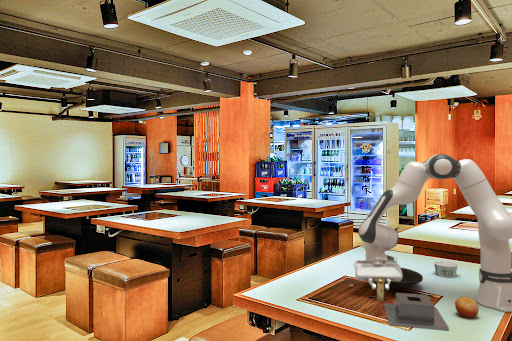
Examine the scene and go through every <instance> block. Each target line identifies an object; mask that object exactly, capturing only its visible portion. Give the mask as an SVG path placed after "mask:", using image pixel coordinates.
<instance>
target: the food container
mask: <svg viewBox="0 0 512 341" xmlns="http://www.w3.org/2000/svg"><path fill="white" fill-rule="evenodd" d="M432 263H433V264H434V269H435V270H434V271H435V275H436V276H437V277H440V278H445V279H454V278H456V276H457V270H458V267H459V263H457V262H454V261H448V260H434V261H433V262H432Z"/></svg>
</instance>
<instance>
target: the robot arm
mask: <svg viewBox="0 0 512 341" xmlns="http://www.w3.org/2000/svg"><path fill="white" fill-rule="evenodd" d="M429 179H435V180H446V179H452V180H453V181H454V182H455V184H456V185H457V186H458V189H459V191H460V192H461V194H462V196H463V198H464V200H465V201H466V203H467V205H468V207H469V208H470V209H471V210H472V212H473V213H474V215H475V217H476V218H477V228H478V229H477V230H478V240H479V247H480V268H479V270H478V280H479V286H478V292H477V295H476V298H475V302H476V303H477V304H480V305H482V306H485V307H487V308H491V309H495V310H498V311H501V312H506V313H507V312H509V313H510V312H511V313H512V251H511V247H510V241H509V240H511V239H512V216H511V213H509V211H508V209H507V208H506V207H505V206H504V204H503V203H502V202H501V200H500V199H499V197H498V196H497V194H496V193H495V191H494V189H493V187H492V185H491V184H490V182H489V180H488V179H487V177H486V176H485V174H484V172H483V171H482V169H481V168H480V167H479V165H478V164H476V162H475V161H474V160H472V159H469V158H463V159H461V160H457V159H455V158H453V157H452V156H450V155H447V154H443V153H442V154H441V153H439V154H433V155H432V156H430V157H429V158H427V159H426V160H425V161H423V162H420V161H409V162H408V163H407V164H406V165H405V167H403V169H402V171H401V172H400V174H399V176H398V179H397V181H396V182H395V183H394V185H393V186H391V188H390V189H387V190H385V191H384V192H383V193H382V194H381V196H380V197H379V198H378V200H377V202H376V203H375V205H374V206H373V208H372V209H371V211H370V213H369V214H368V215H367V217H366V218H364V220H363V222H361V223H360V226H359V227H358V233H357V234H358V236H359V238H360V240H361V241H362V242H363V248H364V250H365V260H359V259H358V260H356V261H354V262H353V268H354V269H355V275H354V276H355V279H356V280H357V281H367V282H368V284H369V285H370V286H371V289H372V290H377V283H374V282H373V281H375V282H376V278H384V279H385V281H386V282H387V283H388V284H387V285H386V284H385V285H384V291H385V290H386V291H389V290H390V287H389V284H390V281H398V282H400V281H401V280H402V278H403V275H402V271H401V268H402V267H401V266H400V264H399V263H398V259H397V257H395V256H392V255H388V254H386V253H385V252H386V251H390V250H391V249H394V248H395V247H396V246H397V245H398V243H399V234H398V233H399V232H398V231H397V230H396V229H394V228H392V227H390V226H386V225H384V224H380V221H381V219H383V216H384V215H385V214H386V212H387V211H388V210H389V208H391V207H394V206H403V205H409V204H412V203H414V202H416V200H418V198H419V196H420V195H421V193H422V190H423V189H424V188H423V187H424V186H425V184H426V183H427V182H428V180H429Z"/></svg>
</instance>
